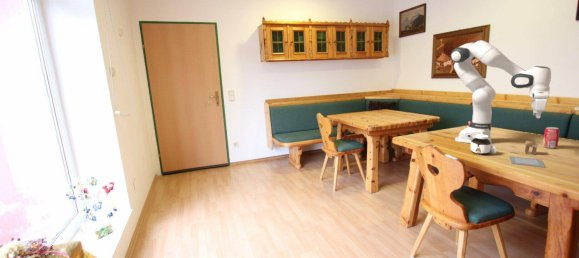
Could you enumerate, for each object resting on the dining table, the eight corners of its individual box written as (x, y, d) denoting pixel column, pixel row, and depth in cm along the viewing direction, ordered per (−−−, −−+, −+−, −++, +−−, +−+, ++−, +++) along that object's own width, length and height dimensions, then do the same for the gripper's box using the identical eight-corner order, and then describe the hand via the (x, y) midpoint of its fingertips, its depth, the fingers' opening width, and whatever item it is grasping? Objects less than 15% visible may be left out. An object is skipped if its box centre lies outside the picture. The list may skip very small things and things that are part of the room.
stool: (525, 153, 172) (527, 142, 171) (524, 151, 176) (525, 140, 175) (536, 155, 170) (537, 143, 168) (534, 152, 174) (536, 141, 172)
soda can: (560, 149, 178) (563, 129, 176) (546, 148, 180) (549, 129, 177) (552, 146, 185) (555, 126, 183) (539, 145, 187) (542, 126, 184)
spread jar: (468, 152, 180) (469, 134, 178) (479, 149, 185) (481, 132, 182) (487, 157, 170) (489, 138, 167) (499, 154, 174) (501, 136, 171)
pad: (511, 163, 157) (511, 162, 157) (509, 156, 168) (509, 156, 168) (544, 167, 149) (545, 166, 149) (540, 160, 161) (540, 159, 161)
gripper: (529, 92, 177) (527, 114, 180) (535, 95, 160) (532, 119, 163) (542, 92, 174) (540, 114, 176) (549, 95, 157) (547, 119, 159)
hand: (536, 116), depth 169 cm, fingers open, 8 cm apart
